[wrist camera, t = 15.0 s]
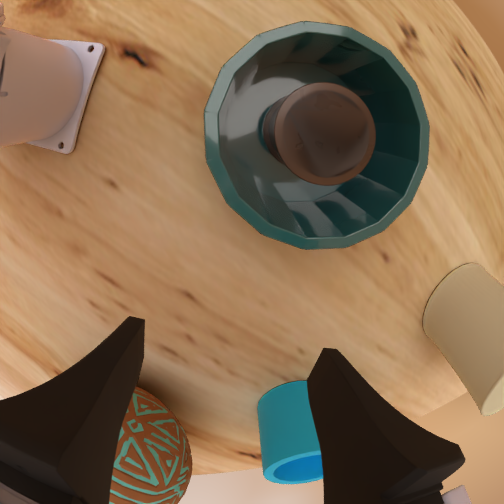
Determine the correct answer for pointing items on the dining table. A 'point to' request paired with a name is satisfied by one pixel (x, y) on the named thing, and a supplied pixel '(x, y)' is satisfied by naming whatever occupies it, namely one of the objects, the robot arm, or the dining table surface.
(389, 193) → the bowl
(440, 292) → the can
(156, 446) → the decorative sphere
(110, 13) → the dining table surface
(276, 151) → the spool
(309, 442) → the mug
